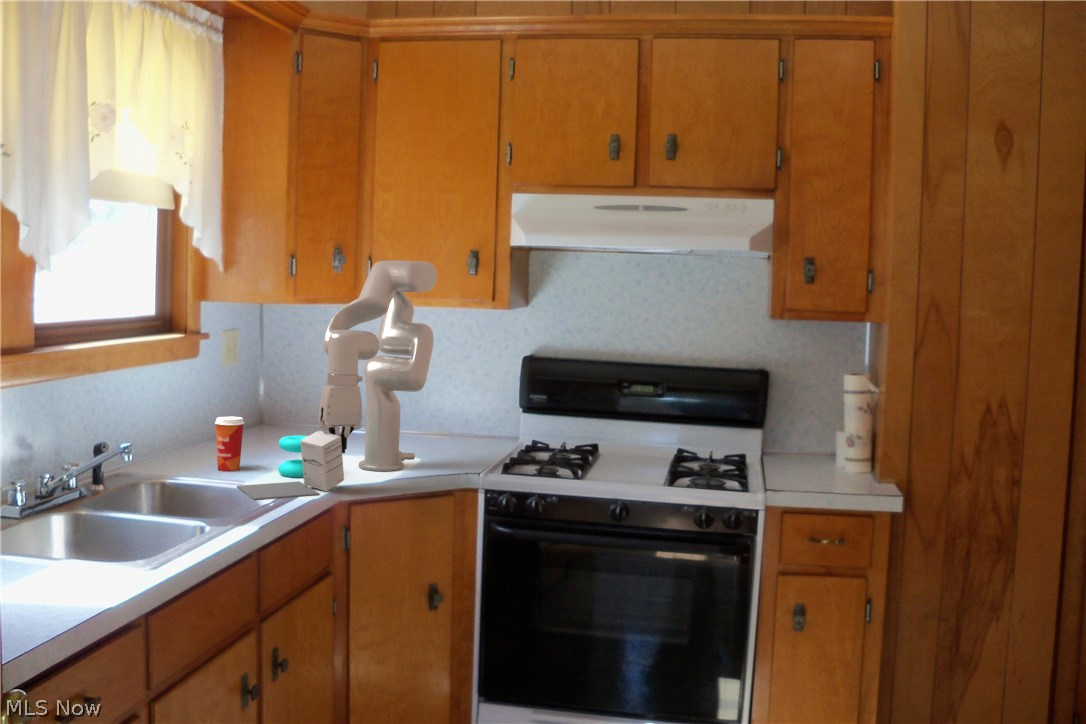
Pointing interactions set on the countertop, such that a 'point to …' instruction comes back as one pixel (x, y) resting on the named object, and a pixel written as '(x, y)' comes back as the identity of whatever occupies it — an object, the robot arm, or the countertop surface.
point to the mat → (277, 490)
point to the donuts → (291, 466)
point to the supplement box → (322, 460)
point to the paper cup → (229, 442)
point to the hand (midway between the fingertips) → (339, 452)
